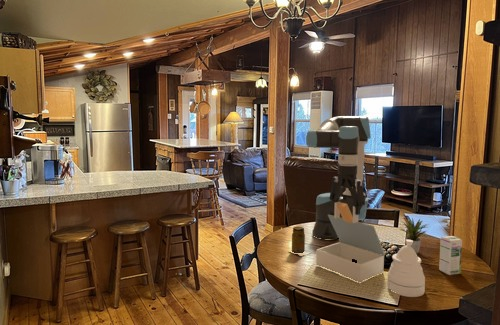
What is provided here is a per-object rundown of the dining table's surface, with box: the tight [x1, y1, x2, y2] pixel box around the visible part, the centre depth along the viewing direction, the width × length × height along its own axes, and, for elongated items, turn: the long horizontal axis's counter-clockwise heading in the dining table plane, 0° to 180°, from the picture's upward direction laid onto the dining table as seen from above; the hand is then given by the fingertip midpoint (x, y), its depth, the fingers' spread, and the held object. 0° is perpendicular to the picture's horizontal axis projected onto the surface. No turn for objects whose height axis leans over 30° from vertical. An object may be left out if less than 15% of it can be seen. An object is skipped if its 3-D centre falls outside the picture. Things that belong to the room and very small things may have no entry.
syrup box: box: [438, 235, 463, 276], centre depth 152 cm, size 6×6×14 cm
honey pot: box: [386, 240, 426, 298], centre depth 137 cm, size 13×13×18 cm
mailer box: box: [315, 241, 385, 282], centre depth 155 cm, size 22×16×8 cm
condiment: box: [291, 226, 306, 253], centre depth 175 cm, size 7×8×12 cm
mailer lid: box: [328, 202, 386, 257], centre depth 154 cm, size 22×25×2 cm
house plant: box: [399, 217, 429, 254], centre depth 175 cm, size 14×14×16 cm
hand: (346, 219), depth 151 cm, fingers open, 8 cm apart
